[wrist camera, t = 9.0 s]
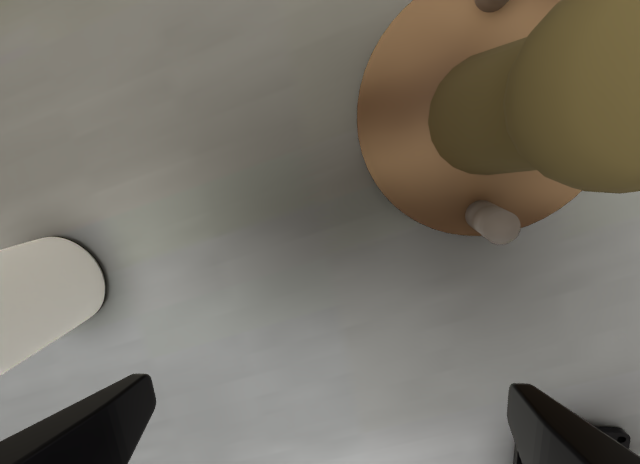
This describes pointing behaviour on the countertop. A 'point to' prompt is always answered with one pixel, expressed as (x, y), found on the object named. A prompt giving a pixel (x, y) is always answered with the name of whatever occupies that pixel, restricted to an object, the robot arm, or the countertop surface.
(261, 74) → the countertop surface
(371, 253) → the countertop surface
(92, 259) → the can
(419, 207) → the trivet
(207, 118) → the countertop surface
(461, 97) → the cork
